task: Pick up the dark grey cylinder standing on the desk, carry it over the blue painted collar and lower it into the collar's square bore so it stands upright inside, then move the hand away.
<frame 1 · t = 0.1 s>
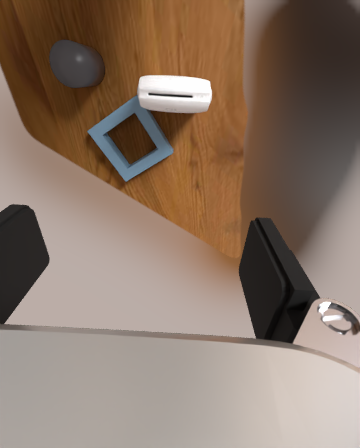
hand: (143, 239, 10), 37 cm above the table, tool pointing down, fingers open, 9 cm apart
collar: (133, 139, 44), on the table
dark grey cylinder: (88, 66, 38), on the table
photo printer: (176, 91, 40), on the table
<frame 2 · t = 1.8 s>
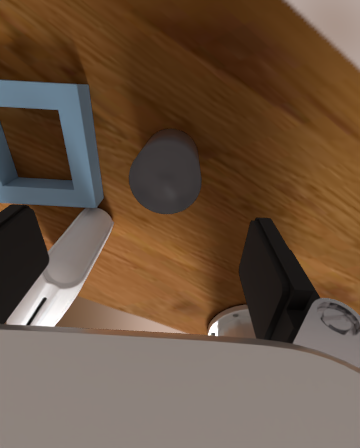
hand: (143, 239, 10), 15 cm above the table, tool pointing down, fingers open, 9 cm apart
collar: (42, 145, 23), on the table
dark grey cylinder: (171, 157, 24), on the table
photo printer: (86, 237, 29), on the table
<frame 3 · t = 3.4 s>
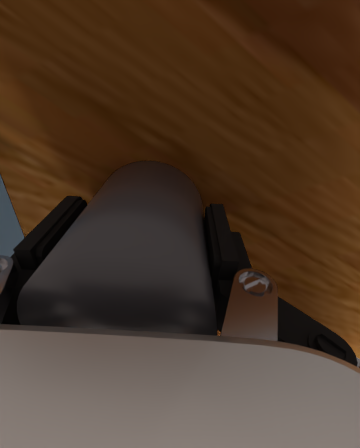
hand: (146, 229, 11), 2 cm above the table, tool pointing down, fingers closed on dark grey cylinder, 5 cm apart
dark grey cylinder: (151, 211, 12), on the table, touching gripper
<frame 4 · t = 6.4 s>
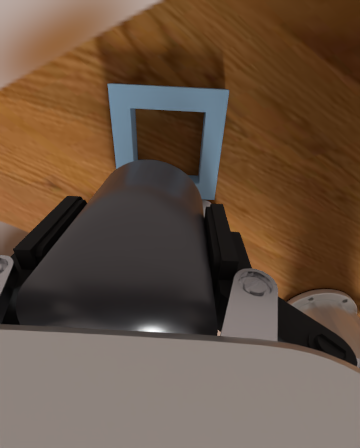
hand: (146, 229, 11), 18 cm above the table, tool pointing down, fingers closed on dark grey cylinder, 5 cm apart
collar: (169, 143, 26), on the table
dark grey cylinder: (151, 210, 12), point 16 cm above the table, touching gripper
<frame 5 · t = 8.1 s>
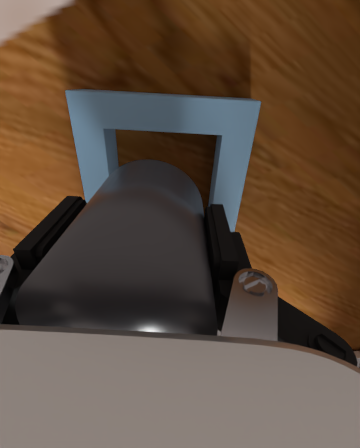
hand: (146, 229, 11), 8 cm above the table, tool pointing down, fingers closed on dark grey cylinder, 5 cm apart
collar: (165, 174, 18), on the table
dark grey cylinder: (151, 210, 12), point 6 cm above the table, touching gripper
when the fingers open (4 cm above the table, at t = 9.4 s): dark grey cylinder drops 2 cm, resting in collar.
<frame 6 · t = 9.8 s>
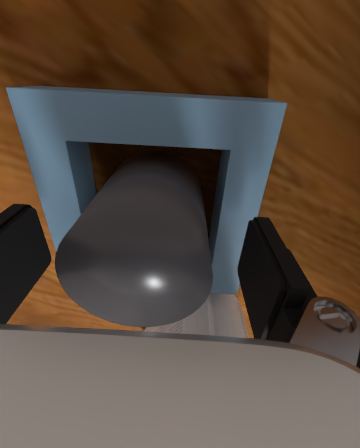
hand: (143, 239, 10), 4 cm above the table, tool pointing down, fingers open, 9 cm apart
collar: (155, 195, 14), on the table
dark grey cylinder: (156, 195, 14), resting in collar
photo printer: (185, 312, 20), on the table
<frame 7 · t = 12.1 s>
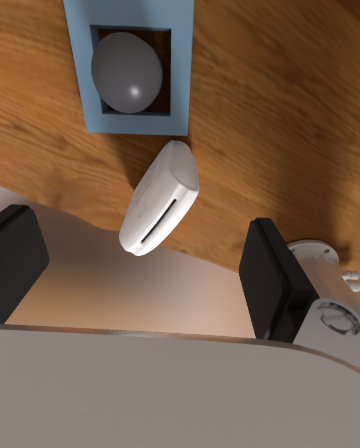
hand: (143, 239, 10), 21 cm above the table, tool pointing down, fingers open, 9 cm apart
collar: (137, 74, 24), on the table
dark grey cylinder: (138, 73, 24), resting in collar
photo printer: (162, 174, 31), on the table
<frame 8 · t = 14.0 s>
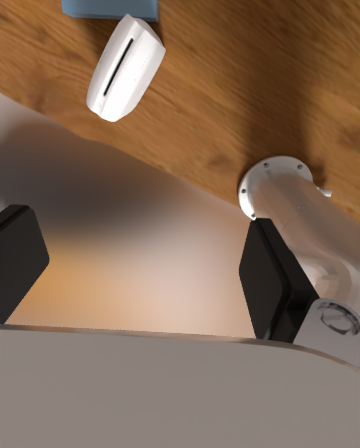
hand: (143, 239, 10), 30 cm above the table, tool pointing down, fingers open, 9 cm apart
photo printer: (137, 74, 33), on the table
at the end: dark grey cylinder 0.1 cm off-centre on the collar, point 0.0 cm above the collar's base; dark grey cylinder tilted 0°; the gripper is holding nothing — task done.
